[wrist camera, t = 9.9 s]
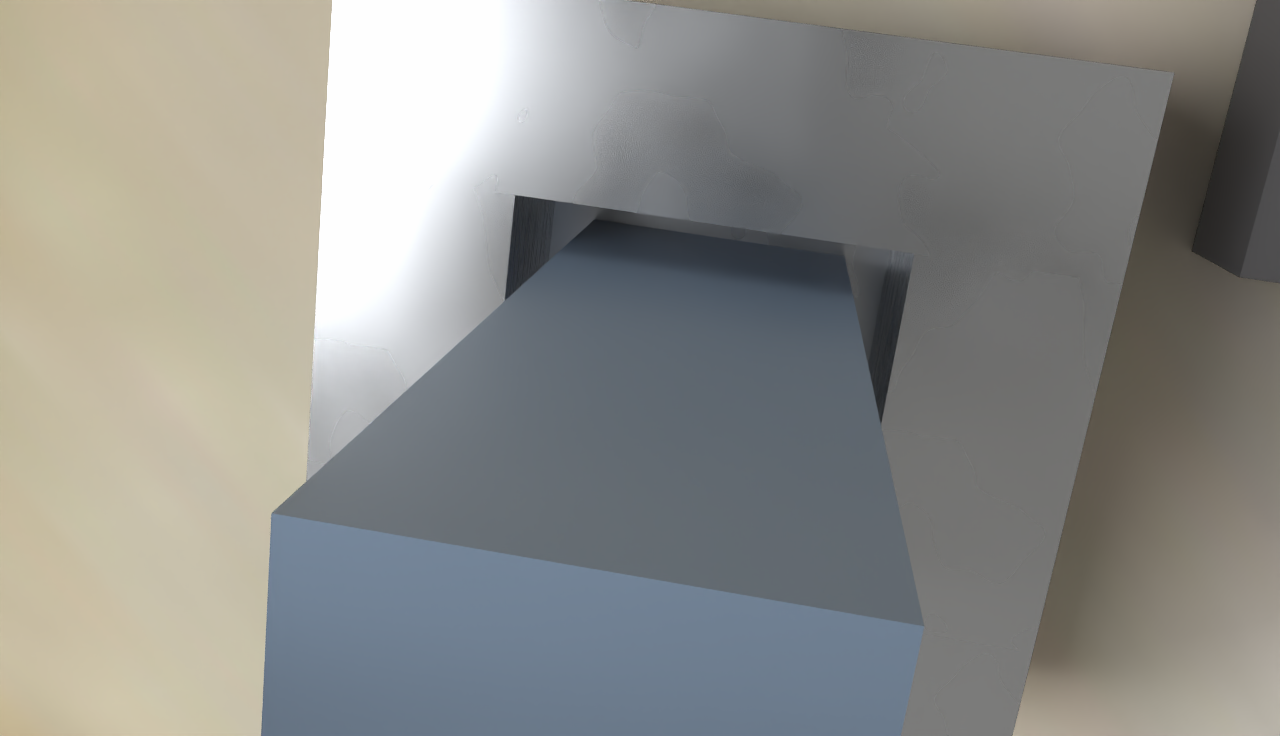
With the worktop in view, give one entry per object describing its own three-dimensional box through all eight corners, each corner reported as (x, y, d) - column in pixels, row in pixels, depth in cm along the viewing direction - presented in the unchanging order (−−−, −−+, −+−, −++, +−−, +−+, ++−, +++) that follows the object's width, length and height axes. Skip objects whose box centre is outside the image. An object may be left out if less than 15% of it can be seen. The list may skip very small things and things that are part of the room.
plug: (594, 219, 22) (271, 513, 8) (844, 256, 21) (924, 625, 8) (566, 452, 23) (247, 1033, 10) (802, 492, 23) (811, 1154, 9)
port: (433, -23, 22) (335, -39, 18) (1090, 64, 21) (1174, 72, 17) (385, 593, 26) (293, 719, 21) (948, 694, 25) (984, 849, 20)
